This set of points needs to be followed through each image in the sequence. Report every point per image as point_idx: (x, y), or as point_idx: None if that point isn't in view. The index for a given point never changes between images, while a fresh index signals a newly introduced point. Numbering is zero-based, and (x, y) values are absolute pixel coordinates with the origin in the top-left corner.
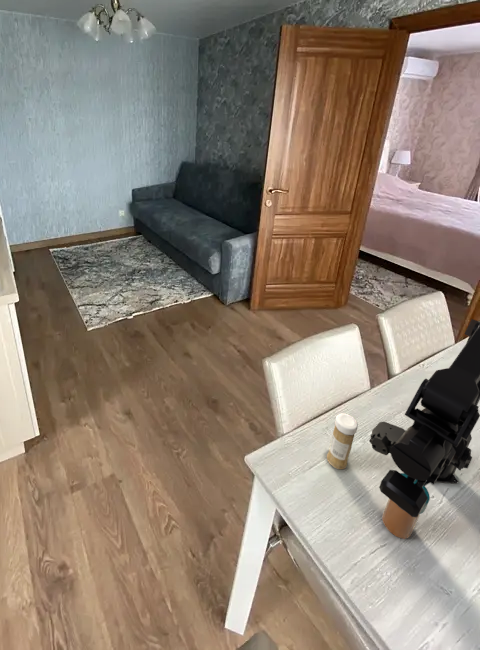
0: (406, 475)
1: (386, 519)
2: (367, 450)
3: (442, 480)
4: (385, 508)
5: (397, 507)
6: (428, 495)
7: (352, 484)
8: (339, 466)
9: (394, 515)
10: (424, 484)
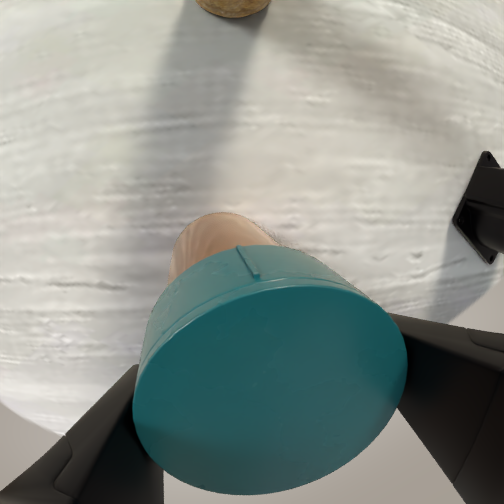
0: (374, 331)
1: (173, 253)
2: (385, 37)
3: (474, 243)
4: (194, 233)
5: None
6: (337, 466)
7: (200, 74)
8: (207, 2)
9: None
10: (400, 409)
